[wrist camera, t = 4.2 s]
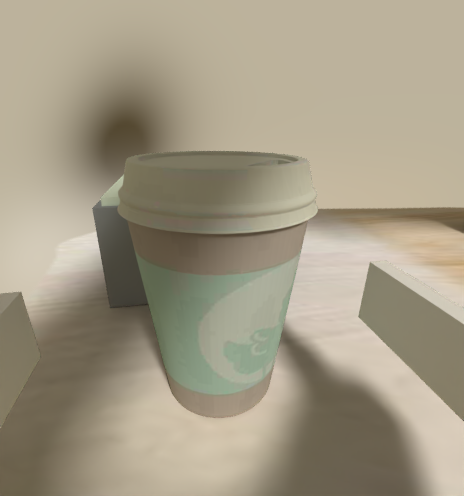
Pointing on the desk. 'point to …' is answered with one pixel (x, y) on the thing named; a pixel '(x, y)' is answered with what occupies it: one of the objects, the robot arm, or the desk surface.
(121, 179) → the block
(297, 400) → the desk surface
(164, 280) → the coffee cup
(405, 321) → the robot arm
